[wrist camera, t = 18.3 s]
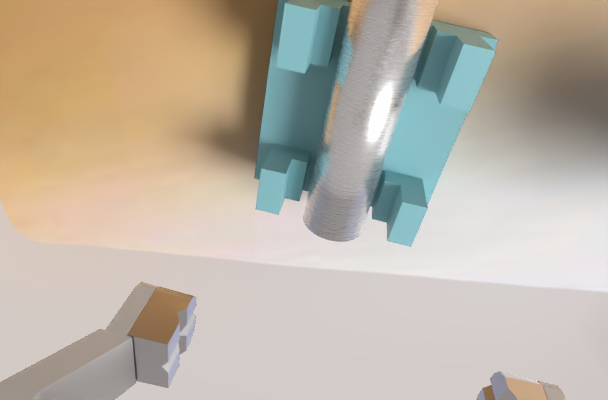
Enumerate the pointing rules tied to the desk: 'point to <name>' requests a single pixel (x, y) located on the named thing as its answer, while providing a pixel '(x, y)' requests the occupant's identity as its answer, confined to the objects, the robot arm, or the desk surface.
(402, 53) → the steel axle
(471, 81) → the teal cradle
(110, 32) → the desk surface
